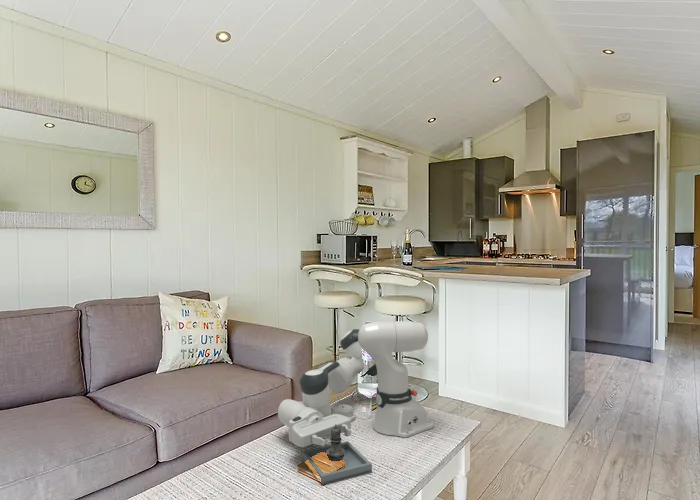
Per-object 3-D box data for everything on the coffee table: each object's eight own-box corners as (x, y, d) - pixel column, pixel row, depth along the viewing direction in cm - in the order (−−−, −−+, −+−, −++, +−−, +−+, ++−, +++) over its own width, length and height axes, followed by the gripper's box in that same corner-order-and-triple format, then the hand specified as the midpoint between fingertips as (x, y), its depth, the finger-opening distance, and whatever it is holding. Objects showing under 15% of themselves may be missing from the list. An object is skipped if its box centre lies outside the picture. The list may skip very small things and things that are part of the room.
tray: (348, 449, 146) (348, 441, 145) (371, 472, 131) (371, 463, 131) (302, 459, 138) (302, 451, 138) (321, 485, 124) (321, 476, 124)
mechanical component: (327, 422, 167) (353, 424, 165) (327, 410, 167) (353, 413, 165) (333, 412, 177) (357, 414, 175) (333, 401, 177) (357, 403, 175)
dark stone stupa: (339, 469, 131) (339, 429, 131) (322, 464, 134) (322, 425, 133) (348, 461, 136) (348, 422, 136) (332, 456, 139) (332, 418, 139)
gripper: (335, 424, 151) (363, 438, 141) (284, 442, 138) (310, 459, 127) (335, 406, 151) (363, 418, 141) (284, 422, 138) (310, 437, 127)
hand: (337, 438), depth 134 cm, fingers open, 8 cm apart
